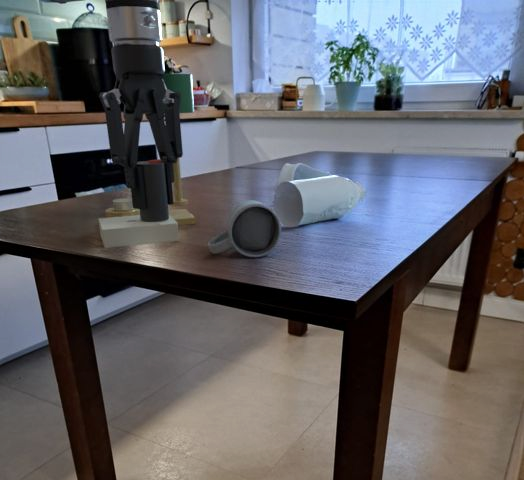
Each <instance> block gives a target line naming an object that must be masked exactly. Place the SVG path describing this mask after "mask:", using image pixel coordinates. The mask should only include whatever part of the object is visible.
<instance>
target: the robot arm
mask: <svg viewBox="0 0 524 480" xmlns="http://www.w3.org/2000/svg"><path fill="white" fill-rule="evenodd" d="M39 1H40V2H43V3H47V4H48V3H50V4H51V3H53V4H54V3H56V4H57V3H58V4H60V5H65V4H67V3H71V2H81V1H84V0H39ZM104 2H105V10H106V18H107V27H108V28H107V30H108V37H109V41H110V42H111V43H114V45H113V46H112V47H111V49H110V50H111V58H112V60H111V61H112V67H113V72H114V74H115V77H116V79H115V85H114V88H113V89H111V90H109V91H107V92H105V91H104V92H100V93H99V100H100V102H101V104H102V107H103V109H104V112H105V113H104V114H105V122H106V130H107V137H108V144H109V145H108V146H109V152H110V153H109V154H110V159H111V162H112V163H113V164H117V165H119V166H121V167H123V169H124V176H125V185H126V187H127V188H128V189H130V194H131V195H130V196H131V199H132V203H133V208H136V209H141V210H145V209H146V201H145V191H144V182H143V173H142V167H137V162H138V157H139V156H138V155H139V146H140V145H139V144H140V132H141V122H142V121H143V118H144V115H145V118H146V120H147V121H148V122H149V123H148V124H149V126H150V130H151V133H152V137H153V140H154V143H155V147H156V151H157V155H158V157H159V159H161V160H162V162H164V166H165V177H166V188H167V199H168V206H172V204H173V199H174V194H173V192H174V191H173V184H174V168H173V163H176V162H177V158H179V159H180V158H182V157H183V155H184V152H183V139H182V126H181V113H179V106H180V101H181V94H180V93H179V92H172V91H170V90H168V89H166V85H165V83H164V80H163V74H165V72H166V69H165V59H164V58H165V57H164V49H163V48H162V46H160V45H159V44H160V43H161V42H163V41H162V40H163V36H162V24H161V23H162V22H161V12H160V4H159V0H104ZM162 101H163V103H165V104H164V111H163V107H162V104H161V103H162ZM121 104H123V115H122V110H121V106H120V105H121ZM123 120H124V124H123Z"/></svg>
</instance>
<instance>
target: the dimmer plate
mask: <svg viewBox="0 0 524 480" xmlns="http://www.w3.org/2000/svg"><path fill="white" fill-rule="evenodd" d="M177 217H181V216H173V218H177ZM173 218H172V217H171V216H170V215H169V219H168V220H165V221H159V222H145V221H141V220H140V215H135V216H123V217H110V218H106V217H99V218H97V219H98V226H99V233H100V238H101V240H102V241H101V242H102V244H103V247H104V249H112V248H120V247H133V246H141V245H143V246H144V245H152V244H162V243H172V242H179V241H180V235H179V225H178V223H177V222H176V221H175V220H174V219H173Z"/></svg>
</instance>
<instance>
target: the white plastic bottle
mask: <svg viewBox="0 0 524 480" xmlns="http://www.w3.org/2000/svg"><path fill="white" fill-rule="evenodd" d="M275 189H276V193H275V192H274V194H273V200H272V202H271V203H272V204H273V211H274V212H275V213H276V214H277V216H278V218H279V220H280V224H281V225H283V227H287V228H297V227H300V226H301V225H309V224H314V223H319V222H323V221H328V220H333V219H335V220H337V219H341V218H343V217H344V216H345V215H346V214H347V213H350V212H352V211H353V210H354V209H356V206H357V205H358V203H360V202H363V201H365V199H366V193H367V190H366V189H365V187H364V186H363V185H362V184H360V183H359V182H358V181H356V182H355V183H354V182H353V180H351V179H349V178H347V177H344V176H339V175H338V174H336V175H335V174H334V175H329V176H326V177H319V178H313V179H305V180H296V181H288V182H282V183H280V184H279V185H278V186H276V185H275Z"/></svg>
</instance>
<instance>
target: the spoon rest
mask: <svg viewBox="0 0 524 480" xmlns="http://www.w3.org/2000/svg"><path fill="white" fill-rule="evenodd" d="M330 173H331V172H329V171H322V170H319V169H316V168H314V167H311V166H309V165H308V164H304V163H301V162H299V163H295V164H291V163H285V164H284V165H283V166H282V168H281V169H280V172H279V175H278V177H277V180H276V184H275V187H276V186H278V185H279V184H280V183H282V182H288V181H296V180H305V179H313V178H319V177H326V176H330V175H331V174H330ZM274 190H275V191H274V194H275V193H276V188H275V189H274Z"/></svg>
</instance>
